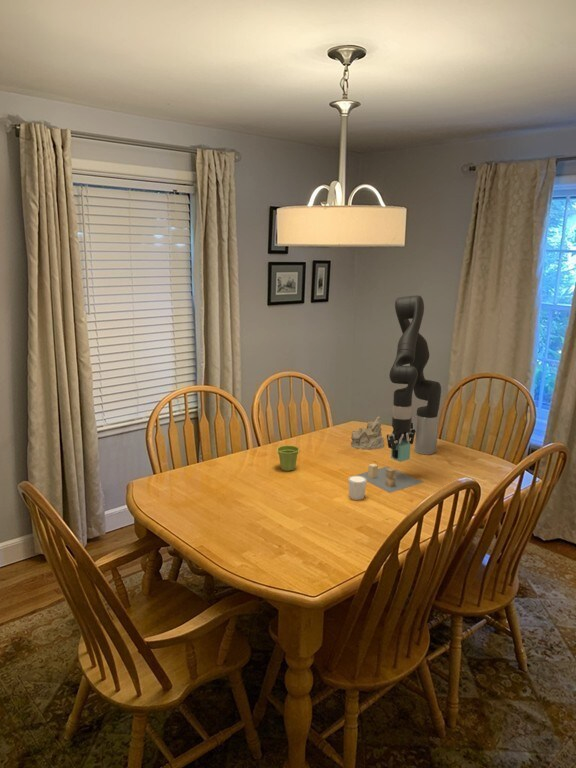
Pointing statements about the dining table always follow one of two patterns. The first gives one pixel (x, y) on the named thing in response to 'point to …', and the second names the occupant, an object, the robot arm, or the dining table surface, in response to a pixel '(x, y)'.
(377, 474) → the board
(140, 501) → the dining table surface
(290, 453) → the plant pot
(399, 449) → the teal block
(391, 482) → the post tall
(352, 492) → the white cylinder
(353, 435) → the ceramic cottage
